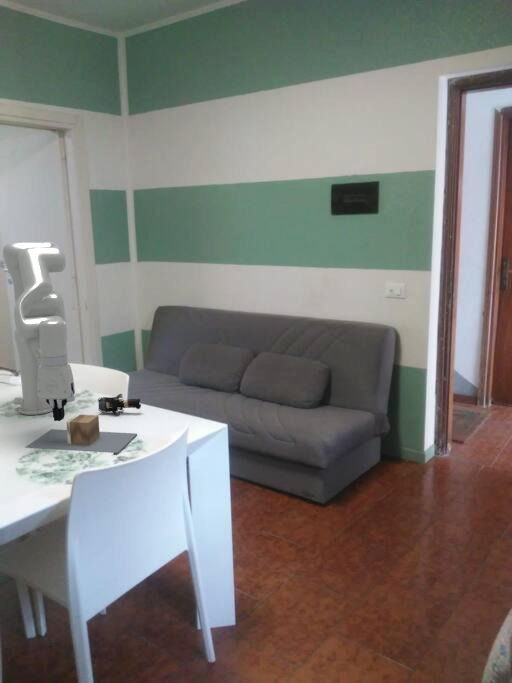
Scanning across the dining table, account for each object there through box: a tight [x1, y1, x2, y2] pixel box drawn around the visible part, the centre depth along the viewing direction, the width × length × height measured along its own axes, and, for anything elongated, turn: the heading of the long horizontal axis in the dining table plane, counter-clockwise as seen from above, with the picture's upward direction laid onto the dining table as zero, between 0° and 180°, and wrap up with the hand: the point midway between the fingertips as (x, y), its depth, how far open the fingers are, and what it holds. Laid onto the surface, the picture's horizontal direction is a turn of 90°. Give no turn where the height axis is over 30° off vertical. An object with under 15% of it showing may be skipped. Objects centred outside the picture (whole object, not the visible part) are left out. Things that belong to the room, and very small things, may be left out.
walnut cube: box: [66, 413, 100, 445], centre depth 175 cm, size 7×7×7 cm
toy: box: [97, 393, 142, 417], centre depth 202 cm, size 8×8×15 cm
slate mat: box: [24, 428, 138, 456], centre depth 176 cm, size 29×16×1 cm, turn 81°
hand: (59, 419), depth 175 cm, fingers closed
